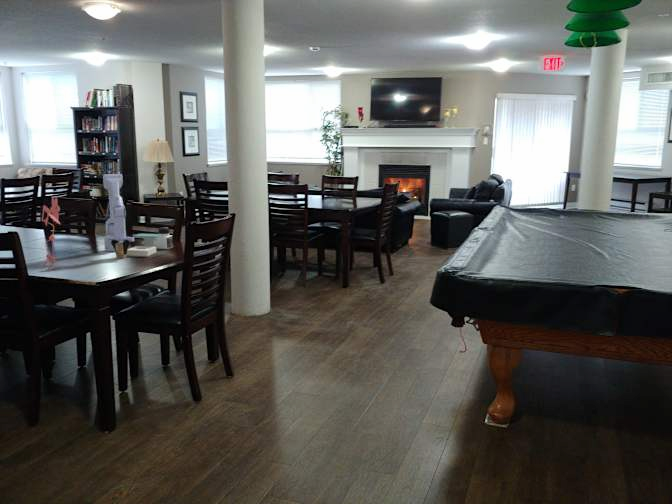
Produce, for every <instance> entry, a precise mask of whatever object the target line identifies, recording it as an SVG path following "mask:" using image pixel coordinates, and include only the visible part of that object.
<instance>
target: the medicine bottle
mask: <svg viewBox="0 0 672 504" xmlns="http://www.w3.org/2000/svg"><path fill="white" fill-rule="evenodd" d="M158 234H161V236H160V237H158V238H155V243H156V250H157V249H158V250H160V249H161V250H169V249H171V248H173V247H174V241H173V235H170V228H169V227H159V228H158Z"/></svg>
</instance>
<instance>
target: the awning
mask: <svg viewBox="0 0 672 504" xmlns="http://www.w3.org/2000/svg"><path fill="white" fill-rule="evenodd" d="M160 236H161V234H159V233H137V234H134V236H133V237H134V238H143V246H150V247H156V238H158V237H160Z"/></svg>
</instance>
